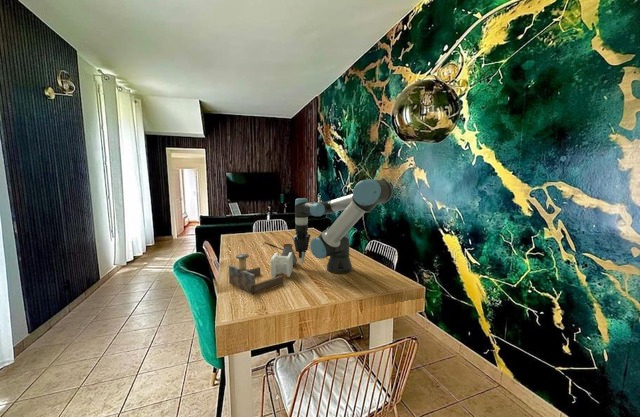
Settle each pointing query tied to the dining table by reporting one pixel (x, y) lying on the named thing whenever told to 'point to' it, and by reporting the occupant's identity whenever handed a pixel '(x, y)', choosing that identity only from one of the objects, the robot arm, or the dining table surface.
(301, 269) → the dining table surface
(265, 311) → the dining table surface
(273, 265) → the cable organizer
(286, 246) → the coffee pot
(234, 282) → the notched bay
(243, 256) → the mushroom drawer knob
